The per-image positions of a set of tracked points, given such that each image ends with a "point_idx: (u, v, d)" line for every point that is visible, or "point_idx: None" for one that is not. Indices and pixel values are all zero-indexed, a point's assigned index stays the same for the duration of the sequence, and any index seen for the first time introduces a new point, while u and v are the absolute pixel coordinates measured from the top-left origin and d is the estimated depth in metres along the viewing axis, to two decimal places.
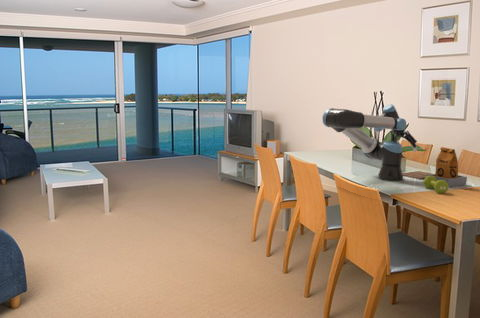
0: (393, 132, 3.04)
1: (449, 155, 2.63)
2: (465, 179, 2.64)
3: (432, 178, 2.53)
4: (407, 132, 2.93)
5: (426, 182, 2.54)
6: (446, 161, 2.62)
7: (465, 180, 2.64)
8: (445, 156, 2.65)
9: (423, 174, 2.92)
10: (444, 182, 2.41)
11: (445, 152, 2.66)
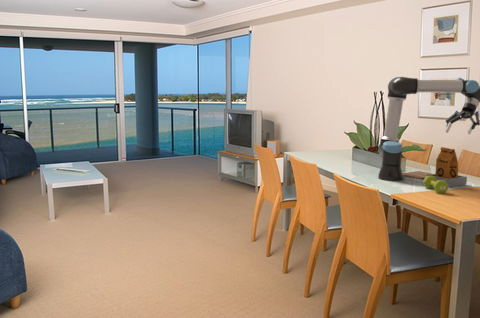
0: (458, 113, 2.79)
1: (449, 155, 2.63)
2: (465, 179, 2.64)
3: (432, 178, 2.53)
4: (478, 113, 2.70)
5: (426, 182, 2.54)
6: (446, 161, 2.62)
7: (465, 180, 2.64)
8: (445, 156, 2.65)
9: (423, 174, 2.92)
10: (444, 182, 2.41)
11: (445, 152, 2.66)
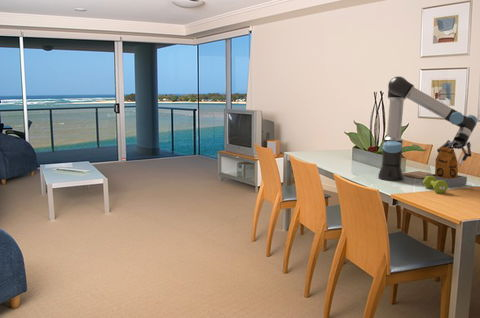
0: (449, 142, 2.74)
1: (448, 155, 2.62)
2: (465, 179, 2.64)
3: (432, 178, 2.53)
4: (470, 144, 2.65)
5: (426, 182, 2.54)
6: (445, 161, 2.61)
7: (465, 180, 2.64)
8: (444, 156, 2.64)
9: (423, 174, 2.92)
10: (443, 182, 2.41)
11: (444, 152, 2.66)
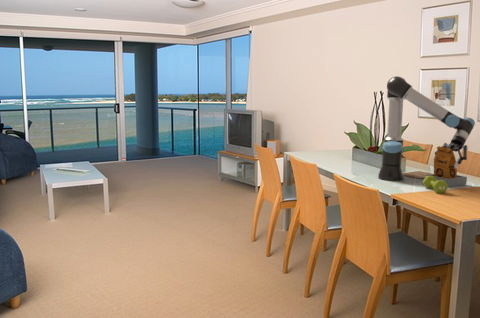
0: (446, 145, 2.73)
1: (447, 155, 2.61)
2: (465, 179, 2.64)
3: (432, 178, 2.53)
4: None
5: (426, 182, 2.54)
6: (444, 162, 2.60)
7: (465, 180, 2.64)
8: (443, 156, 2.63)
9: (423, 174, 2.92)
10: (443, 182, 2.41)
11: (442, 151, 2.64)
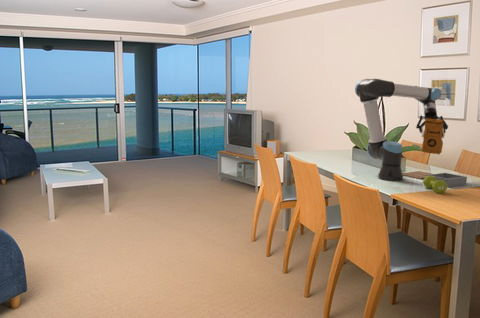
0: (422, 117, 2.90)
1: (437, 125, 2.77)
2: (465, 179, 2.64)
3: (432, 178, 2.53)
4: None
5: (425, 182, 2.54)
6: (437, 132, 2.76)
7: (465, 180, 2.64)
8: (433, 127, 2.78)
9: (423, 174, 2.92)
10: (442, 182, 2.41)
11: (431, 123, 2.79)
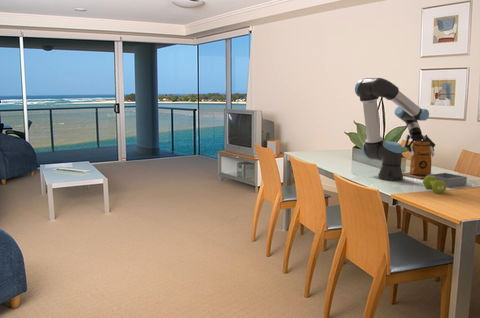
0: (409, 137, 2.96)
1: (424, 148, 2.88)
2: (465, 179, 2.64)
3: (432, 178, 2.53)
4: None
5: (425, 182, 2.54)
6: (427, 154, 2.86)
7: (465, 180, 2.64)
8: (421, 149, 2.87)
9: None
10: (442, 182, 2.41)
11: (418, 146, 2.88)
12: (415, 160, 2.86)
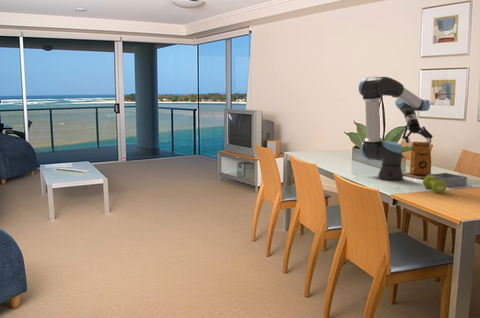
0: None
1: (424, 148, 2.88)
2: (465, 179, 2.64)
3: (431, 178, 2.53)
4: None
5: (425, 182, 2.54)
6: (426, 154, 2.86)
7: (465, 180, 2.64)
8: (421, 149, 2.88)
9: None
10: (442, 182, 2.41)
11: (418, 146, 2.88)
12: (415, 160, 2.86)
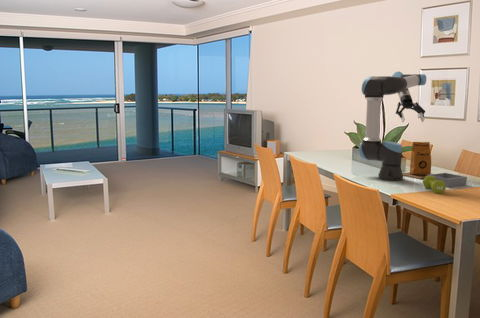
0: (400, 104, 3.07)
1: (424, 148, 2.88)
2: (465, 179, 2.64)
3: (431, 178, 2.53)
4: None
5: (425, 182, 2.54)
6: (426, 154, 2.86)
7: (465, 180, 2.64)
8: (421, 149, 2.88)
9: None
10: (441, 182, 2.41)
11: (418, 146, 2.88)
12: (415, 160, 2.86)
